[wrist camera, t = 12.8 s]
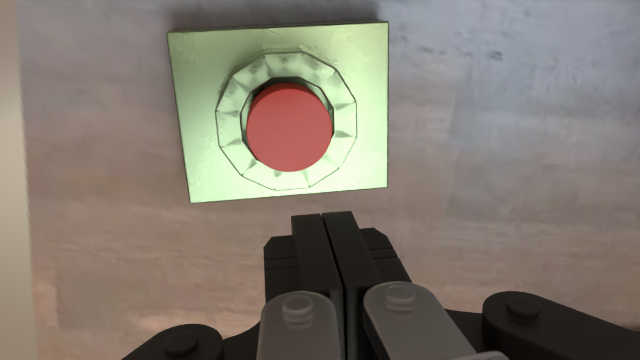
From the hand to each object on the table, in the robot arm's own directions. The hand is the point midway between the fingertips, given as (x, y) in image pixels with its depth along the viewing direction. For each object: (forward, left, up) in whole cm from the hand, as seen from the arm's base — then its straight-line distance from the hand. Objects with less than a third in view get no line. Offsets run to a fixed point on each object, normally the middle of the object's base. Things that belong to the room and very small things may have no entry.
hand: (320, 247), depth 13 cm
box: (0, 0, -17) cm, 17 cm away
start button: (0, 0, -13) cm, 13 cm away
